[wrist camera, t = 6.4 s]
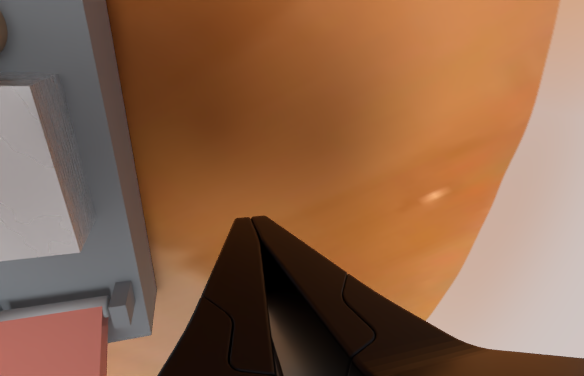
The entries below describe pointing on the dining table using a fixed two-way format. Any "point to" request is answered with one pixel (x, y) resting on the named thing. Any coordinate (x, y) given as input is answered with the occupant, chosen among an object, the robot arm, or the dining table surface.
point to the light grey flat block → (40, 171)
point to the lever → (55, 339)
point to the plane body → (84, 166)
